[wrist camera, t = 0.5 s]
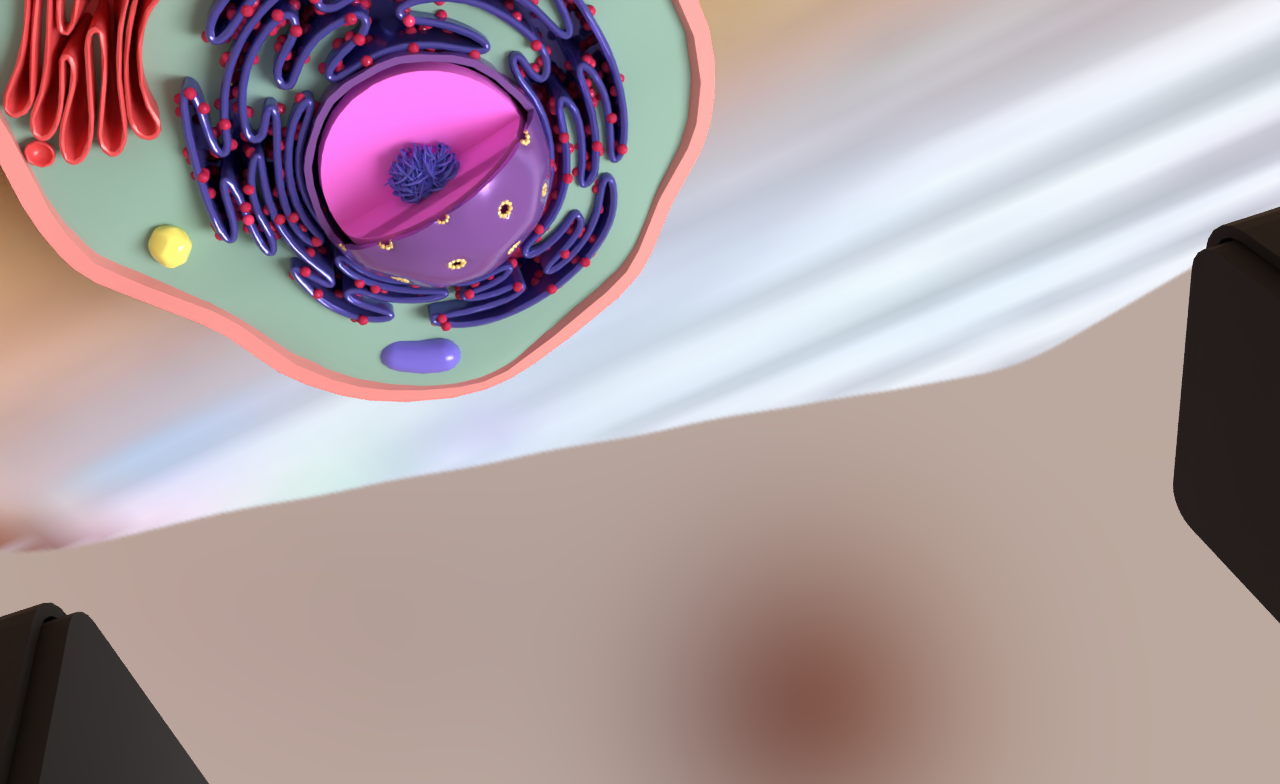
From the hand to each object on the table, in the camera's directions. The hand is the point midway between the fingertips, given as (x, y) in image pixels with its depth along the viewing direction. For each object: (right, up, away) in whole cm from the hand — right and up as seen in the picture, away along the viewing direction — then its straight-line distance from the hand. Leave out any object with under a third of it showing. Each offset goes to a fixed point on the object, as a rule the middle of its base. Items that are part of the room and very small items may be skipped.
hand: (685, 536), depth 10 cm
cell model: (-9, +13, +26) cm, 31 cm away
